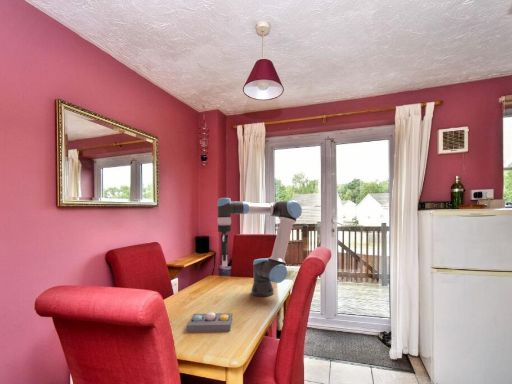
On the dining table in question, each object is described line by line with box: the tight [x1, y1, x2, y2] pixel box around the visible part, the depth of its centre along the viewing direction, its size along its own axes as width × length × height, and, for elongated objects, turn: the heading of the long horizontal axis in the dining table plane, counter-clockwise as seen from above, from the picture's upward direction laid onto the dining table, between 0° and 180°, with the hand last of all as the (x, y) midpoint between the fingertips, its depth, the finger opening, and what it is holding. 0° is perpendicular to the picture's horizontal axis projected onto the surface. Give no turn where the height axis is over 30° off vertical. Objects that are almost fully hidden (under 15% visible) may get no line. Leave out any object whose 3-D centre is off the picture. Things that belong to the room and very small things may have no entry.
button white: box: [205, 311, 216, 321], centre depth 131 cm, size 4×4×3 cm
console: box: [186, 312, 233, 333], centre depth 131 cm, size 20×14×3 cm
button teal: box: [192, 315, 202, 321], centre depth 131 cm, size 4×4×3 cm
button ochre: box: [220, 314, 229, 321], centre depth 131 cm, size 4×4×3 cm
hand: (224, 266), depth 152 cm, fingers closed
